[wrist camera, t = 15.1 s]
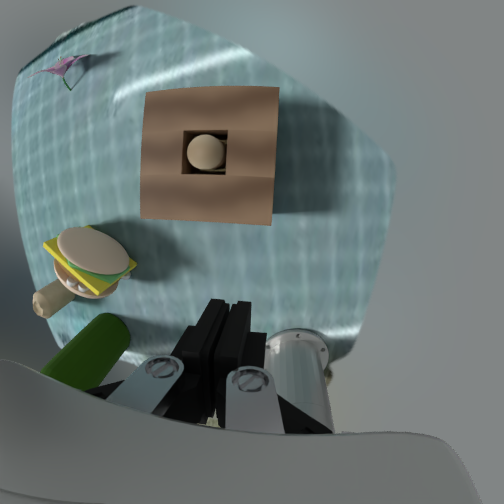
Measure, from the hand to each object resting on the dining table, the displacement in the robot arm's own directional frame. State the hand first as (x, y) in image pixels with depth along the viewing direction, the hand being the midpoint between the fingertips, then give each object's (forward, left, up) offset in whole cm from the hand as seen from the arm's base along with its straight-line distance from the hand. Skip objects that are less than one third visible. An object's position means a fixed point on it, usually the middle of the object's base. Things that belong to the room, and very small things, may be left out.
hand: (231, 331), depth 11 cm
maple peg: (+9, +7, -27) cm, 29 cm away
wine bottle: (-24, +29, -30) cm, 48 cm away
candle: (-16, +40, -30) cm, 52 cm away
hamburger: (-7, +27, -30) cm, 41 cm away
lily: (+28, +37, -30) cm, 55 cm away
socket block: (+9, +7, -30) cm, 31 cm away
